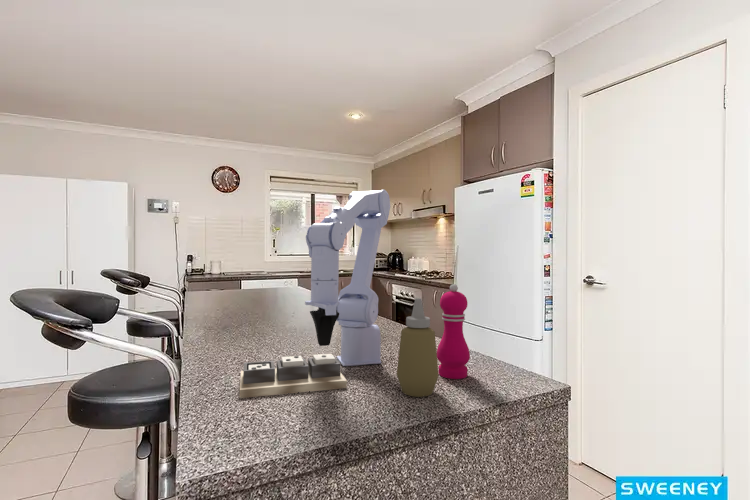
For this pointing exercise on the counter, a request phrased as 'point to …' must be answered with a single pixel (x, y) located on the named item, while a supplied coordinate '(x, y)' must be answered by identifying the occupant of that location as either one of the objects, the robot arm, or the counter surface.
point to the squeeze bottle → (417, 355)
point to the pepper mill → (453, 336)
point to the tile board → (290, 378)
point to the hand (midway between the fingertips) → (323, 345)
